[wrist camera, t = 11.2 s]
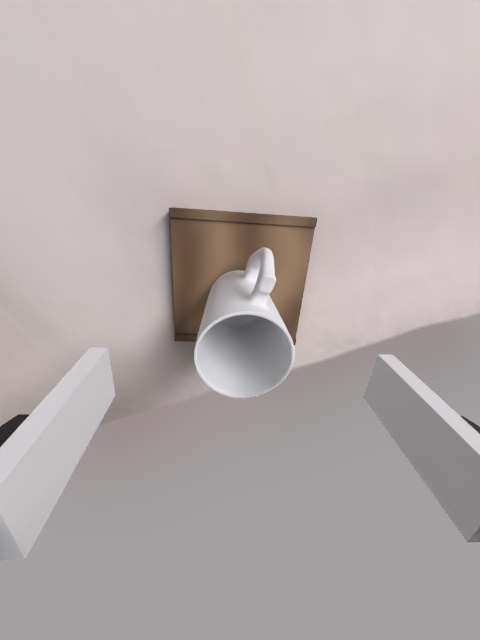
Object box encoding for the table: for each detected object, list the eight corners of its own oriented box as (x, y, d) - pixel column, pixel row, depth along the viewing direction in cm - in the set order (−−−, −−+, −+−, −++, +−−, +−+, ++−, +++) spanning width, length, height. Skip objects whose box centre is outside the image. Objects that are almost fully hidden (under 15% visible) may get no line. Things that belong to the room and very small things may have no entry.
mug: (256, 332, 30) (273, 407, 19) (200, 317, 29) (183, 387, 18) (289, 247, 26) (333, 279, 15) (225, 226, 25) (224, 244, 14)
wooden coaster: (177, 334, 31) (174, 340, 30) (172, 207, 25) (169, 207, 24) (292, 339, 32) (294, 345, 31) (312, 217, 26) (317, 218, 25)
